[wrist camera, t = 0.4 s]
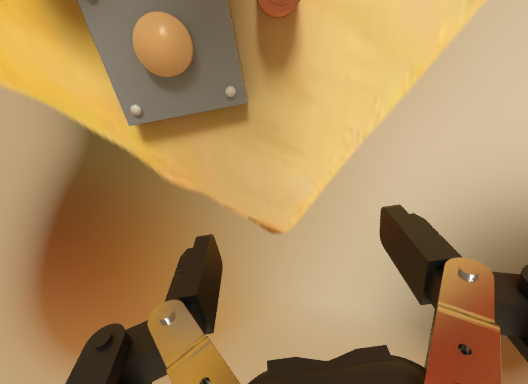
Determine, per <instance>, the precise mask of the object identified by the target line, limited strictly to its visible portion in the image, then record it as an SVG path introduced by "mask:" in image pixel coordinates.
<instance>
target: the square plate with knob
mask: <svg viewBox="0 0 528 384" xmlns="http://www.w3.org/2000/svg"><path fill="white" fill-rule="evenodd" d="M77 2H78V4H79V7H80V9H81V11H82V14H83V16H84V19H85V21H86V23H87V26H88V28H89V31H90V33H91V35H92V38H93V40H94V43H95V45H96V47H97V50H98V52H99V55H100V57H101V59H102V62H103V64H104V67H105V69H106V71H107V74H108V76H109V78H110V81H111V83H112V86H113V88H114V90H115V93H116V95H117V98H118V100H119V102H120V105H121V107H122V110H123V112H124V114H125V117H126V119H127V122H128V124H129V126H132V125H137V124H143V123H148V122H153V121H158V120H163V119H169V118H174V117H179V116H184V115H190V114H195V113H200V112H205V111H210V110H216V109H221V108H226V107H231V106H237V105H242V104H247V103H248V97H247V92H246V87H245V82H244V77H243V72H242V67H241V62H240V57H239V52H238V47H237V41H236V36H235V31H234V26H233V21H232V16H231V11H230V6H229V1H228V0H77Z"/></svg>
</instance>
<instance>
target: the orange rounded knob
mask: <svg viewBox="0 0 528 384" xmlns="http://www.w3.org/2000/svg"><path fill="white" fill-rule="evenodd" d="M299 1H300V0H258V2H259V5H260V7H261V8H262V10H263V11H264V12H265V13H266V14H268V15H270V16H272V17H283V16H285V15H287V14H288V13H289V12H291V10H292V9H293V8H294V7H295V6H296V5H297V3H298V2H299Z"/></svg>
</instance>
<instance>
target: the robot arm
mask: <svg viewBox="0 0 528 384" xmlns="http://www.w3.org/2000/svg"><path fill="white" fill-rule="evenodd" d="M380 217H381V218H380V239H381V243H382V245H383V247H384V249H385V250H386V252H387V253H388V255H389V256H390V258H391V260H392V261H393V263H394V264H395V266H396V267H397V269H398V270H399V272H400V274H401V275H402V277H403V278H404V280H405V281H406V283H407V284H408V286H409V288H410V289H411V291H412V292H413V294H414V295H415V297H416V299H417V300H418V301H419V303H420V305H425V304H432V305H433V307H434V308H435V312H434V317H433V323H432V328H431V334H430V339H429V345H428V350H427V355H426V360H425V365H424V367H422V366H421V365H419V364H417V363H415V362H413V361H410V360H408V359H405V358H402V357H398V356H393V355H390V353H389V350H388V348H387V346H386V345H382V346H375V347H368V348H360V349H355V350H353V351H351V352H348V353H346V354H344V355H341V356H339V357H337V358H335V359H332V360H330V361H321V360H314V359H307V358H299V357H292V358H284V359H276V360H269V361H267V368H268V371H266V372H263V373H262V374H260V375H258V376H257V377H256V378H254V379H253V380H252V381H250V383H248V384H502V383H501V343H500V335H506V336H507V337H508V338H509V339H510V341H511V342H512V343H513V344H514V346H515V347H516V348H517V349H518V350H519V352H520V353H521V354H522V356H523V357H524V358H525V359H526V361H527V362H528V265H526V266H525V267H524V268H523V269H522V271H521V274H510V273H499V272H491V271H490V270H489V269H488V268H487V267H486V266H485V265H483V264H482V263H480V262H478V261H475V260H472V259H468V258H463V257H462V256H461V255H460V254H459V253H458V252H457V251H456V250H455V249H454V248H453V247H452V246H451V245H450V244H449V243H448V242H447V241H446V240H445V239H444V238H443V237H442V236H441V235H439V233H438V232H437V231H436V230H435V229H434V228H432V226H431V225H430V224H429V223H428V222H427V221H426V220H425V219H424V218H422V217H420V216H418V215H416V214H414V213H413V214H408V213H407V211H406V210H405V209H404V208H403V207H402V206H401V205H393V206H387V207H382V208H381V216H380ZM221 277H222V259H221V256H220V253H219V250H218V247H217V244H216V241H215V238H214V236H213V235H212V234H210V235H204V236H198V237H196V239H195V243H194V246H193V248H190V249H187V250H186V251H185V252H184V253H183V255H182V256H181V257H180V259H179V262H178V265H177V268H176V271H175V275H174V277H173V279H172V282H171V285H170V288H169V291H168V294H167V297H166V300H165V302H164V303H162V304H160V305H159V306H158V307H156V308H155V309H154V311H153V312H152V313H151V315H150V316H149V319H148V320H147V321H145V322H143V323H141V324H138V325H136V326H134V327H131V328H129V329H127V330H125V329H124V327H123V326H122V325H121V324H110V325H107V326H105V327H103V328H101V329H100V330H98V331H97V332H96V333H95V334H93V335H92V336H91V338H90V339H89V340H88V341H87V343H86V345H85V346H84V348H83V350H82V352H81V354H80V356H79V358H78V360H77V362H76V364H75V366H74V368H73V370H72V372H71V374H70V376H69V378H68V380H67V382H66V384H152V382H153V381H155V380H157V379H159V378H161V377H163V376H165V375H167V374H168V376H169V379H170V380H171V383H172V384H240V383H239V381H238V380H237V378H236V377H235V375H234V374H233V372H232V371H231V369H230V368H229V366H228V365H227V364H226V362H225V361H224V359H223V358H222V356H221V355H220V353H219V352H218V350H217V349H216V347H215V346H214V345H213V343H212V342H211V340H210V339H209V338H208V337H207V336H205V334H211V333H214V326H215V319H216V312H217V305H218V298H219V290H220V284H221Z"/></svg>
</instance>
